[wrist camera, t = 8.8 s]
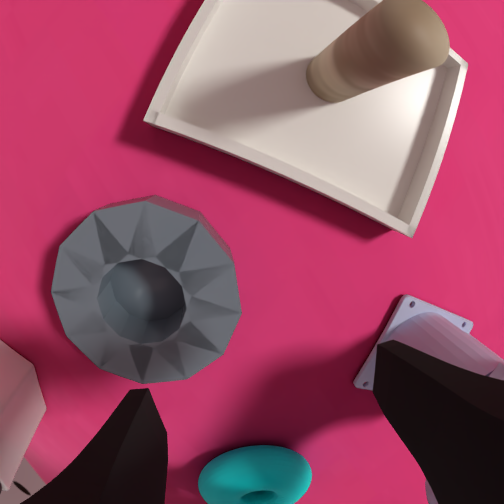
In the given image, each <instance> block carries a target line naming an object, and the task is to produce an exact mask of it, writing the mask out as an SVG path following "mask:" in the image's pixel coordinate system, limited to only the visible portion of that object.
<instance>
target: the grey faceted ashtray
mask: <svg viewBox="0 0 504 504" xmlns="http://www.w3.org/2000/svg"><path fill="white" fill-rule="evenodd" d="M51 293H52V297H53V300H54V303H55V306H56V309H57V312H58V315H59V317H60V320H61V323H62V326H63V328H64V331H65V334H66V336H67V337H68V338H69V339H70V340H71V341H72V342H73V343H74V344H75V345H76V346H77V347H78V348H79V349H80V350H81V351H82V352H83V353H84V354H85V355H86V356H87V357H88V358H89V359H90V360H91V361H92V362H93V363H94V364H95V365H96V366H97V367H98V368H99V369H102V370H105V371H107V372H110V373H113V374H116V375H118V376H121V377H124V378H127V379H130V380H133V381H136V382H138V383H141V384H147V383H157V382H167V381H176V380H185V379H188V378H190V377H191V376H193V375H194V374H196V373H197V372H198V371H200V370H201V369H203V368H204V367H206V366H207V365H209V364H210V363H212V362H213V361H215V360H216V359H217V358H219V357H220V356H222V355H223V354H224V352H225V350H226V347H227V345H228V343H229V341H230V338H231V336H232V334H233V332H234V329H235V327H236V325H237V323H238V320H239V318H240V316H241V314H242V312H241V305H240V299H239V292H238V286H237V279H236V273H235V266H234V261H233V257H232V254H231V250H230V248H229V246H228V245H227V244H226V243H225V242H224V240H223V239H222V238H221V237H220V235H219V234H218V233H217V232H216V231H215V229H214V228H213V227H212V226H211V224H210V223H209V222H208V221H207V220H206V218H205V217H204V216H203V215H202V213H201V212H200V211H197V210H194V209H192V208H189V207H186V206H184V205H181V204H178V203H176V202H173V201H170V200H168V199H165V198H162V197H160V196H157V195H152V196H147V197H141V198H136V199H131V200H126V201H121V202H116V203H111V204H108V205H106V206H104V207H102V208H99V209H97V210H95V211H93V212H92V213H91V214H90V215H89V216H88V217H87V218H86V219H85V220H84V221H83V222H82V223H81V224H80V225H79V226H78V227H77V228H76V229H75V230H74V231H73V232H72V233H71V234H70V235H69V237H68V238H67V239H66V240H65V241H64V242H63V243H62V244H61V245H60V246H59V251H58V256H57V261H56V266H55V271H54V277H53V283H52V289H51Z"/></svg>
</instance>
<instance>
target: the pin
mask: <svg viewBox="0 0 504 504" xmlns="http://www.w3.org/2000/svg"><path fill="white" fill-rule="evenodd" d="M449 48H450V45H449V38H448V34H447V31H446V29H445V27H444V24H443V23H442V21H441V19H440V18H439V16H438V15H437V14H436V13H435V12H434V10H433V9H432V8H431V7H429V6H428V5H427V4H426V3H425V2H423V1H422V0H383V1H381V2H380V3H379V4H377V5H376V6H375V7H374V8H372V9H371V10H370V11H369V12H367V13H366V14H365V15H364V16H362V17H361V18H360V19H359V20H358V21H356V22H355V23H354V24H353V25H352V26H350V27H349V28H348V29H347V30H346V31H344V32H343V33H342V34H341V35H340V36H339V37H337V38H336V39H335V40H334V41H333V42H332V43H331V44H329V45H328V46H327V47H326V48H325V49H324V50H323V51H322V52H320V53H319V54H318V55H317V56H316V57H315V58H314V59H313V60H312V61H311V62H310V63H309V65H308V67H307V70H306V79H307V83H308V85H309V87H310V89H311V90H312V92H313V93H314V94H315V95H316V96H317V97H319V98H320V99H322V100H324V101H327V102H331V103H338V102H342V101H345V100H347V99H350V98H352V97H355V96H357V95H360V94H362V93H365V92H367V91H370V90H373V89H375V88H378V87H381V86H383V85H386V84H389V83H391V82H394V81H397V80H400V79H403V78H405V77H408V76H411V75H414V74H417V73H420V72H423V71H426V70H429V69H432V68H435V67H438V66H440V65H442V64H443V63H444V62H445V61H446V59H447V57H448V54H449Z"/></svg>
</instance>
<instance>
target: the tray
mask: <svg viewBox="0 0 504 504" xmlns="http://www.w3.org/2000/svg"><path fill="white" fill-rule="evenodd" d="M381 1H383V0H205V1H204V2H203V4H202V6H201V7H200V9H199V11H198V12H197V14H196V16H195V17H194V19H193V21H192V23H191V24H190V26H189V28H188V30H187V31H186V33H185V35H184V37H183V39H182V40H181V42H180V44H179V46H178V48H177V50H176V52H175V54H174V56H173V58H172V60H171V61H170V63H169V65H168V67H167V69H166V72H165V74H164V76H163V78H162V80H161V82H160V84H159V86H158V88H157V90H156V93H155V95H154V97H153V99H152V101H151V104H150V106H149V108H148V110H147V113H146V115H145V117H144V120H143V121H145V122H146V123H148V124H149V125H151V126H153V127H156V128H159V129H162V130H164V131H167V132H170V133H173V134H176V135H178V136H181V137H184V138H187V139H189V140H192V141H195V142H197V143H200V144H203V145H205V146H208V147H210V148H213V149H216V150H218V151H221V152H223V153H226V154H228V155H231V156H233V157H236V158H238V159H241V160H243V161H245V162H248V163H250V164H253V165H255V166H258V167H260V168H262V169H265V170H267V171H269V172H272V173H274V174H276V175H279V176H281V177H283V178H285V179H288V180H290V181H292V182H294V183H297V184H299V185H301V186H303V187H306V188H308V189H310V190H312V191H314V192H316V193H319V194H321V195H323V196H325V197H327V198H329V199H331V200H333V201H336V202H338V203H340V204H342V205H344V206H346V207H348V208H350V209H352V210H354V211H356V212H358V213H360V214H362V215H364V216H366V217H368V218H370V219H372V220H374V221H376V222H378V223H380V224H382V225H384V226H386V227H388V228H390V229H392V230H394V231H396V232H399V233H401V234H403V235H406V236H408V237H411V238H412V237H413V235H414V233H415V230H416V228H417V226H418V223H419V221H420V218H421V216H422V213H423V211H424V208H425V206H426V203H427V201H428V198H429V195H430V193H431V190H432V187H433V185H434V182H435V179H436V176H437V173H438V170H439V168H440V165H441V162H442V159H443V156H444V153H445V149H446V146H447V143H448V140H449V137H450V133H451V130H452V126H453V123H454V119H455V116H456V112H457V109H458V105H459V101H460V97H461V93H462V89H463V85H464V80H465V76H466V71H467V67H468V63H467V62H466V61H464V60H463V59H462V58H461V57H460V56H459V55H458V54H457V53H455V52H454V51H453V50H452V49H451V48H449V54H448V57H447V59H446V61H445V62H444V63H443V64H442V65H440V66H438V67H435V68H432V69H429V70H426V71H423V72H420V73H417V74H414V75H411V76H408V77H405V78H403V79H400V80H397V81H394V82H391V83H389V84H386V85H383V86H381V87H378V88H375V89H373V90H370V91H367V92H365V93H362V94H360V95H357V96H355V97H352V98H350V99H347V100H345V101H342V102H338V103H331V102H327V101H324V100H322V99H320V98H319V97H317V96H316V95H315V94H314V93H313V92H312V90H311V89H310V87H309V85H308V83H307V79H306V70H307V67H308V65H309V63H310V62H311V61H312V60H313V59H314V58H315V57H316V56H317V55H318V54H319V53H320V52H322V51H323V50H324V49H325V48H326V47H327V46H328V45H329V44H331V43H332V42H333V41H334V40H335V39H336V38H337V37H339V36H340V35H341V34H342V33H343V32H344V31H346V30H347V29H348V28H349V27H350V26H352V25H353V24H354V23H355V22H356V21H358V20H359V19H360V18H361V17H362V16H364V15H365V14H366V13H367V12H369V11H370V10H371V9H372V8H374V7H375V6H376V5H377V4H379V3H380V2H381Z"/></svg>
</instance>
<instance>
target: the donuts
mask: <svg viewBox="0 0 504 504" xmlns="http://www.w3.org/2000/svg"><path fill="white" fill-rule="evenodd" d="M311 479H312V472H311V468H310V465H309V463H308V462H307V461H306V459H305V458H304V457H303V456H301V455H300V454H299V453H297V452H295V451H293V450H291V449H288V448H284V447H280V446H273V445H254V446H247V447H241V448H237V449H234V450H231V451H228V452H225V453H223V454H221V455H219V456H218V457H216V458H214V459H213V460H211V461H210V462H209V463H208V464H207V465H206V466H205V467H204V468H203V470H202V471H201V473H200V476H199V479H198V488H199V492H200V494H201V496H202V497H203V499H204V500H205V501H206V502H207V503H208V504H294V503H295V502H296V501H298V500H299V499H300V498H301V497H302V496H303V495H304V494H305V493H306V491H307V489H308V488H309V486H310V483H311Z"/></svg>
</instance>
